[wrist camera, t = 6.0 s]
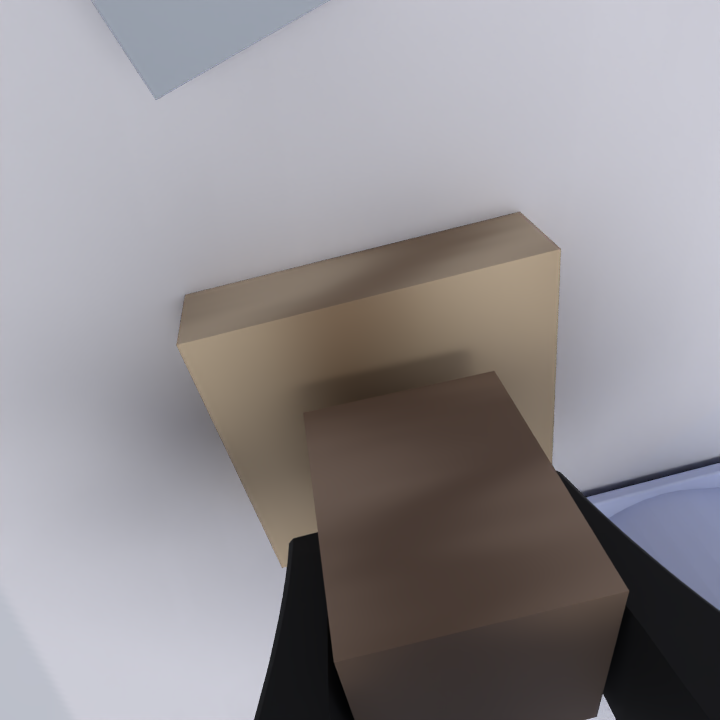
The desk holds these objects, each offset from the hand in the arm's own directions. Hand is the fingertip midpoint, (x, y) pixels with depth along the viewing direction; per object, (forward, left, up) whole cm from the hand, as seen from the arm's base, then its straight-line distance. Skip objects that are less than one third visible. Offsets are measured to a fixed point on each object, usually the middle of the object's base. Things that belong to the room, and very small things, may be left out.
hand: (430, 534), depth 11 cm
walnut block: (0, 0, -2) cm, 2 cm away
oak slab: (0, 0, -6) cm, 6 cm away
